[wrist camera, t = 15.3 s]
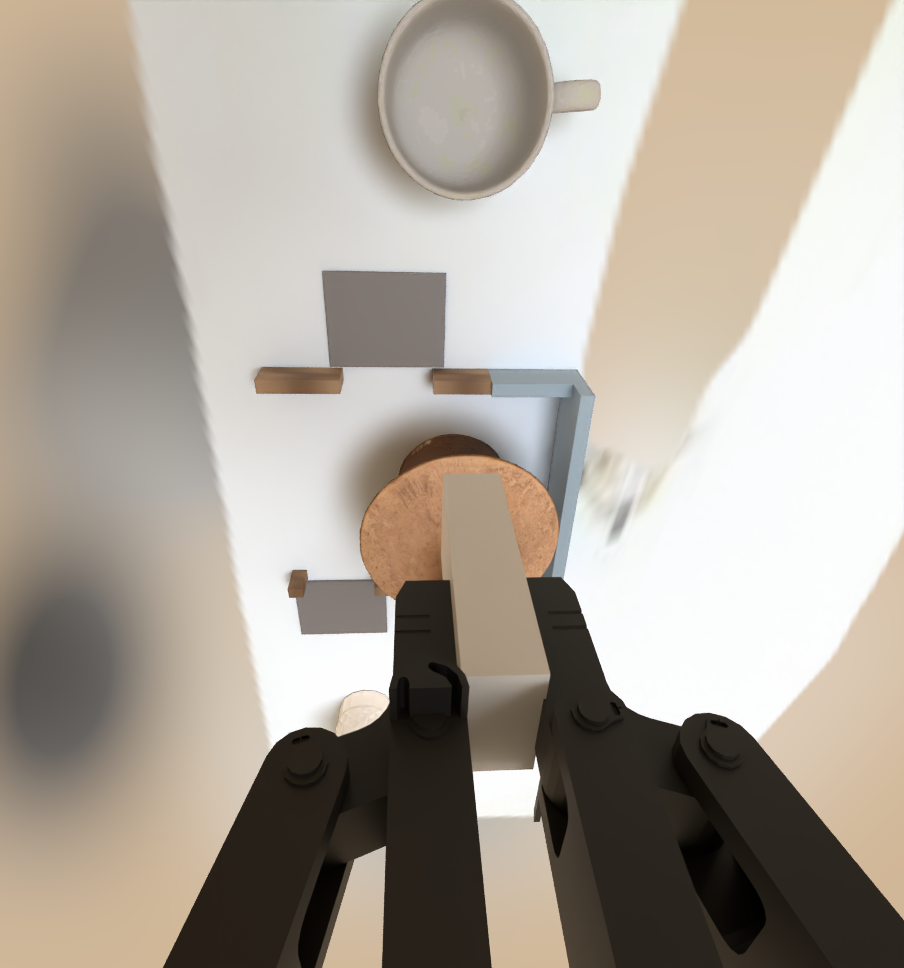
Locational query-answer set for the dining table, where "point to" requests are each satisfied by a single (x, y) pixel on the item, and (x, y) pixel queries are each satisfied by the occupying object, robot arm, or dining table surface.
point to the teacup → (471, 95)
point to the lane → (331, 383)
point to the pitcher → (418, 513)
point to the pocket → (557, 439)
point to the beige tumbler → (360, 711)
